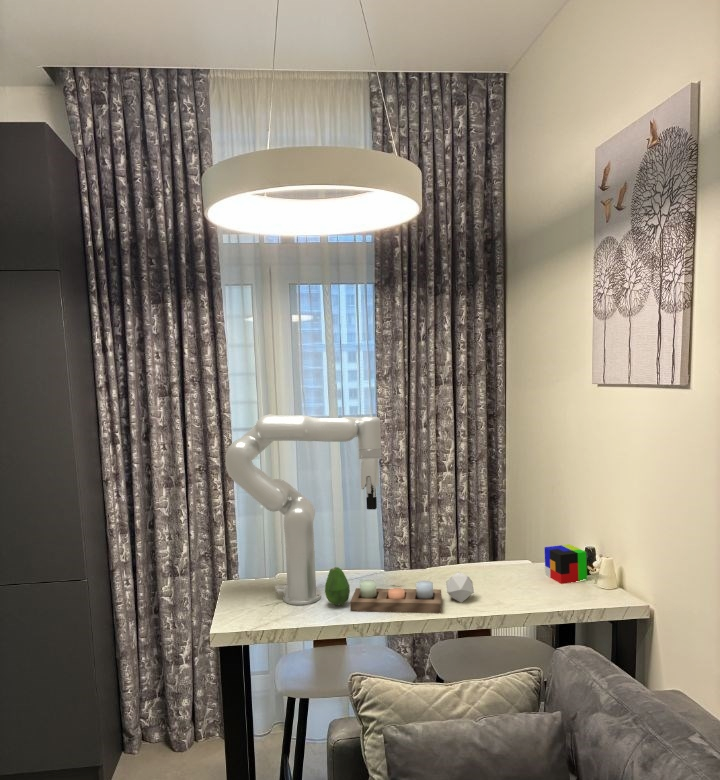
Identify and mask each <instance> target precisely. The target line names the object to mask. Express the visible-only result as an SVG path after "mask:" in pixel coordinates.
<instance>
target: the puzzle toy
mask: <svg viewBox="0 0 720 780" xmlns="http://www.w3.org/2000/svg"><path fill="white" fill-rule="evenodd" d="M587 565H588V563H587V551H585V550H582V549H581V548H578V547H576V546H574V545H572V544H561V545H554V546H552V545H551V546H545V547H544V571H545V572H544V574H545V576H547V577H548V578H550V579H552V580H553V581H555V582H557V583H559V584H561V585H564V584H572V583H571V582H573V583H577V582H576V581H580V580H583V579H587V580H588V571H587V570H588V567H587Z"/></svg>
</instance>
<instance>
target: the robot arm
mask: <svg viewBox="0 0 720 780" xmlns="http://www.w3.org/2000/svg"><path fill="white" fill-rule="evenodd" d="M355 438H357V441H358V442H357V444H358V459H359V460H361V463H360V488H361V490H364V489H365V488H366V489H365V490H366V509H367V510H377V508H378V501H377V500H378V499H377V488H378V486H379V484H380V482H379V481H380V479H379V478H380V471H379V460H380V459H382V439H381V438H382V436H381V419H380V418H379V417H377V416H363V417H362V416H361V417H357V416H342V417H340V418H327V417H326V418H323V417H322V418H321V417H314V416H310V415H301V414H300V415H295V414H294V415H293V414H291V415H290V414H288V415H287V414H285V415H280V414H273V413H269V414H265V415H263V416H261V417H259V418H258V420H257V421H256V423H255V425H254V426H253V427H252V428H250V429H249V430H248V431H247V432H245V434H243V435H242V436H241V437H240V438H238V439H236V440H234V441H233V442H232V443H231V444H230V445H229V447H228V448H227V450H226V454H225V468H226V472H227V474H228V476H229V477H230V478H231V479H232V481H233V482H234V483H236V484H237V485H238V486H239V487H240V488H241V489H242V490H244V491H245V492H246V493H247V494H248V495H250V497H251V498H253V499H254V500H255V501H256V502H258V504H260V505H261V506H262V507H263V508H265V509H266V511H267V510H268V511H270V512H280V513H281V514H282V515H284V517H283V531H284V533H283V534H284V540H285V541H284V542H285V543H284V545H285V560H286V562H285V563H286V566H285V567H286V584H284V585H283V584H282V585H281V584H276V585H275V592H276V593H277V594H282V593H283V595H282V601H283V602H284V603H286V604H289V605H293V606H304V605H309V604H310V605H311V604H313V603H314V604H315V603H316V602H318V601H319V600H320V599H321V597H322V593H321V591H320V590H317V579H316V578H317V577H316V554H315V553H316V551H315V536H314V535H315V534H314V519H315V513H316V511H315V509H316V508H315V507H314V504H313V503H312V502H311V501H310V500H309V499H308V498H307V497H306V496H305V495H303V494H302V493H301V492H299V491H298V489H296V488H295V487H294V486H292V485H291V484H290V483H289V482H287V481H286V480H284V479H280V478H271V477H270V476H269V475H268V474H266V472H264V471H263V470H262V469H261V468H259V467H257V466H256V465H255V464H254V462H253V460H254V459H256V457H258V456H259V455H260V454H261V453H262V452H263V451H264V450H265V449H267V448H268V447H269V446H270V445H271V444H273V442H290V441H291V442H324V443H325V442H328V443H329V442H331V443H333V442H337V443H339V442H340V443H341V442H349V441H350V442H351V441H352V440H353V439H355Z"/></svg>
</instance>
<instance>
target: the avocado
mask: <svg viewBox="0 0 720 780" xmlns="http://www.w3.org/2000/svg"><path fill="white" fill-rule="evenodd" d="M350 592H351V591H350V584H349V581H348V578H347V576H346V575H345V572H344V571H343V570H342V569H341V568H340V567H337V566H335V567H333V568H330V569H329V572H328V575H327V578H326V581H325V586H324V594H325V598H326V599H327V601H328V602H329V603H331V604H332V605H334V606H343V605H345V604H346V602H348V601H349V597H350Z"/></svg>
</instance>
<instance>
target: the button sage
mask: <svg viewBox="0 0 720 780" xmlns="http://www.w3.org/2000/svg"><path fill="white" fill-rule="evenodd" d="M359 588H360V596H361V597H363V598H373V597H375V596H376V595H377V590H376V589H377V581H376V580H374V579H364V580H361V581H360V582H359Z"/></svg>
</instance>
